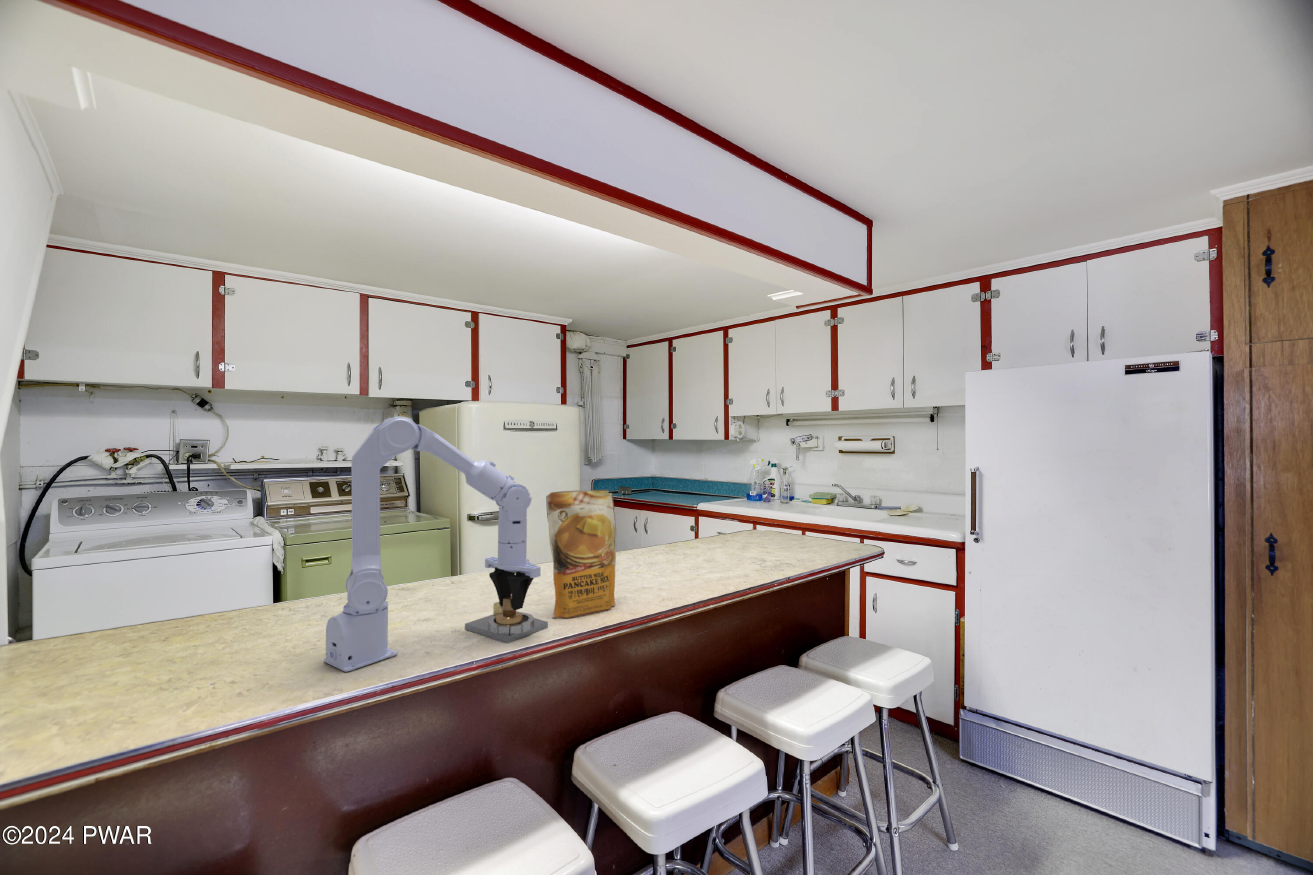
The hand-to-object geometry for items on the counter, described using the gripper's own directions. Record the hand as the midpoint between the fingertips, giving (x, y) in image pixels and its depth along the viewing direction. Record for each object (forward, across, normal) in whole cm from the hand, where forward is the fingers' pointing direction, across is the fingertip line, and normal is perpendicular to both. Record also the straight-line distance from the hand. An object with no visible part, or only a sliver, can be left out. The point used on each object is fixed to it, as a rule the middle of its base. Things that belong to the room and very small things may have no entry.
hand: (511, 606), depth 114 cm
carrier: (+5, +2, -1) cm, 6 cm away
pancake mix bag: (+5, -3, -19) cm, 20 cm away
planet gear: (+4, 0, 0) cm, 4 cm away
